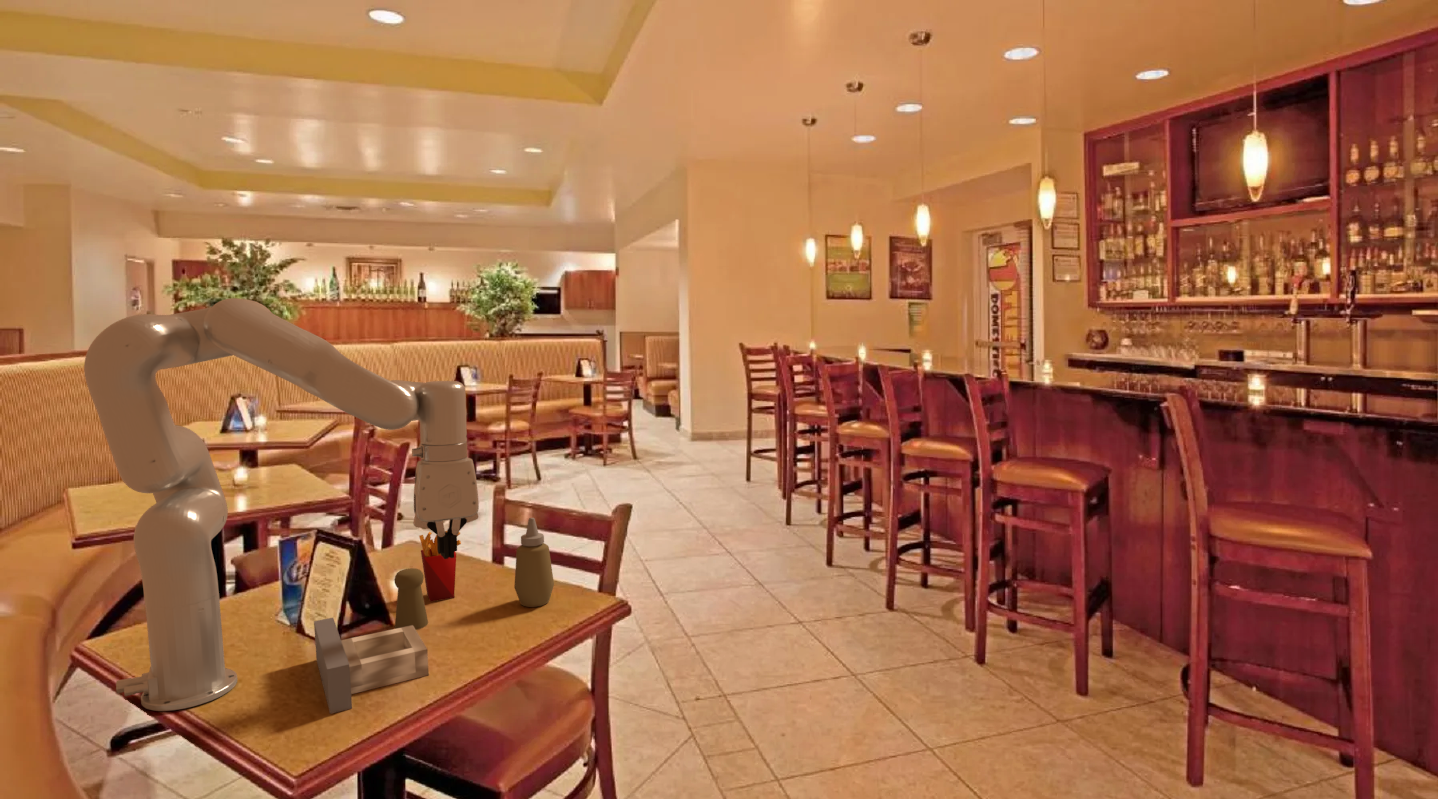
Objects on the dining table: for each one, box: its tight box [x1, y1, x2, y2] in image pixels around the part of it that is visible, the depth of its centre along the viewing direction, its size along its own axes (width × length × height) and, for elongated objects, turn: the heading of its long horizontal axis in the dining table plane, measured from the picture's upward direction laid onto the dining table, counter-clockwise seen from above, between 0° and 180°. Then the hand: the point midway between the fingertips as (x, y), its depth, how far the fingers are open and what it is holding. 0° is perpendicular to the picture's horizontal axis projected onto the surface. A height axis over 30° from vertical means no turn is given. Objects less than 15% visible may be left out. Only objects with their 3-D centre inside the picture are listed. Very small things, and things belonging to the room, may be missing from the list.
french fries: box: [418, 530, 462, 603], centre depth 162 cm, size 9×8×15 cm
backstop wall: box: [313, 617, 353, 715], centre depth 124 cm, size 3×22×7 cm, turn 32°
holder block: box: [341, 625, 430, 695], centre depth 128 cm, size 12×12×4 cm
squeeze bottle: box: [514, 517, 555, 608], centre depth 158 cm, size 8×8×18 cm
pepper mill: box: [393, 567, 429, 631], centre depth 147 cm, size 6×6×11 cm
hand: (447, 556), depth 132 cm, fingers closed
